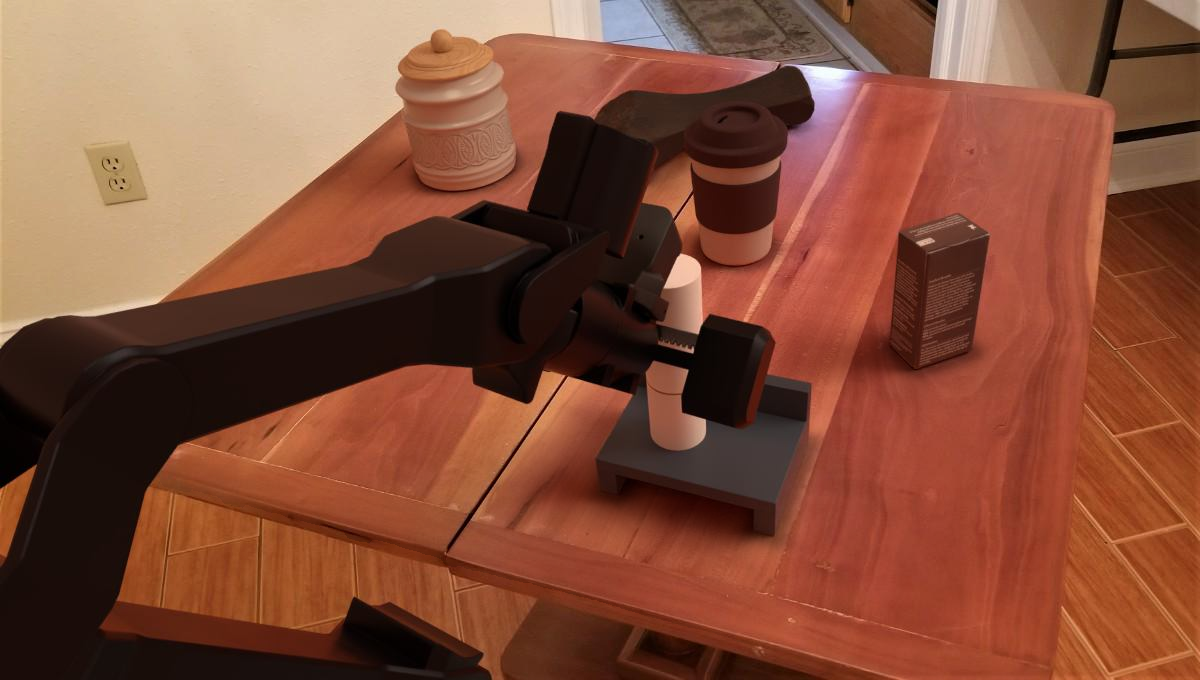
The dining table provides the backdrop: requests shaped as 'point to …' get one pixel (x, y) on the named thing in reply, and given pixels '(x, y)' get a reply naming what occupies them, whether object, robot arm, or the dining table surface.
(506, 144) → the jar
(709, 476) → the shelf
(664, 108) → the dark brown bone
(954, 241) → the box
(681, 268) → the tube
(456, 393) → the dining table surface
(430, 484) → the dining table surface
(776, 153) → the coffee cup
